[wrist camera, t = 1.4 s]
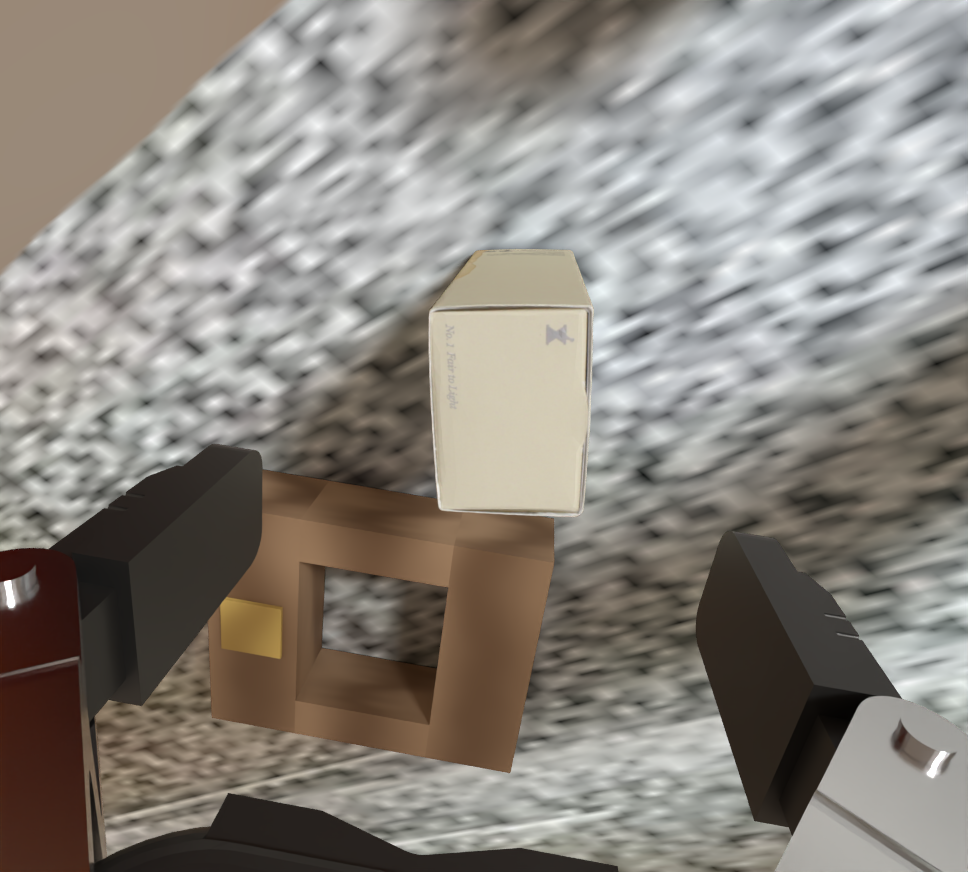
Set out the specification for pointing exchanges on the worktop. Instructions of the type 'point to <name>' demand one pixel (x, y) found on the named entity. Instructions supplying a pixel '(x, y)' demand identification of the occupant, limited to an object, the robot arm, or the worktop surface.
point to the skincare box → (512, 385)
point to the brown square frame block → (374, 681)
